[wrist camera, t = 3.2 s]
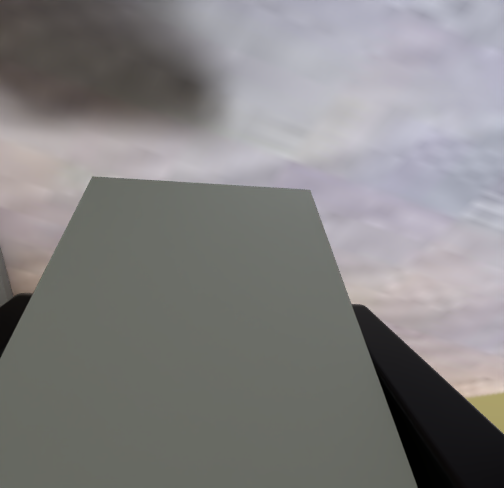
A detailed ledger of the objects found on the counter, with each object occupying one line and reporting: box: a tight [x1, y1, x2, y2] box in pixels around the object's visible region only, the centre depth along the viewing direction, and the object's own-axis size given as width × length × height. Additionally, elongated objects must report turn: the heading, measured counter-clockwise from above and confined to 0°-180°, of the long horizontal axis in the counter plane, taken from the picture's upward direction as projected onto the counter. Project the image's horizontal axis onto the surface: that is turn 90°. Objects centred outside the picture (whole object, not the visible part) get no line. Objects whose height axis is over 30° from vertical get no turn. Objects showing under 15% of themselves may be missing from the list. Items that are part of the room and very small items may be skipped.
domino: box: [0, 177, 418, 488], centre depth 7 cm, size 2×5×10 cm, turn 84°
